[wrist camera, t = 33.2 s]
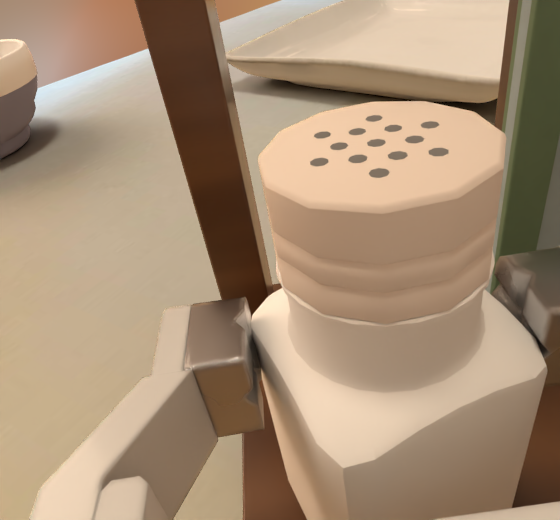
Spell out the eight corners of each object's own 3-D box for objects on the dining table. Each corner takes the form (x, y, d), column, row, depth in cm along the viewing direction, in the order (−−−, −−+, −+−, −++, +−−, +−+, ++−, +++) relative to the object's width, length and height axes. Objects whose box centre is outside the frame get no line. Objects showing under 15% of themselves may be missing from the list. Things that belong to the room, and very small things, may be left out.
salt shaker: (359, 636, 10) (305, 277, 4) (282, 473, 13) (192, 139, 8) (515, 542, 11) (632, 148, 5) (409, 410, 14) (413, 72, 8)
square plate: (377, 17, 63) (376, -18, 60) (627, 22, 46) (639, -25, 44) (223, 89, 48) (214, 47, 46) (508, 134, 32) (516, 72, 29)
